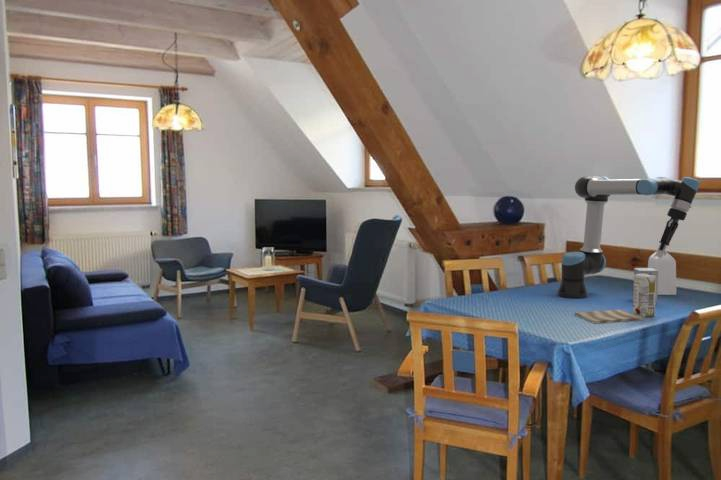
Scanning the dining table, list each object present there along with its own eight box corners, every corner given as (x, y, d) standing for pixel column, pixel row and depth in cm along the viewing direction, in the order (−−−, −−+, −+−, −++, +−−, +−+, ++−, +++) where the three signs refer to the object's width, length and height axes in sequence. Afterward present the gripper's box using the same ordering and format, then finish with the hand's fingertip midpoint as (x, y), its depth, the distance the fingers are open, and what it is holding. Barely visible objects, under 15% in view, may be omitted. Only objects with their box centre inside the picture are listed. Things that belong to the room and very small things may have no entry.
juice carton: (644, 318, 253) (645, 276, 251) (630, 313, 262) (631, 273, 260) (657, 316, 256) (659, 275, 254) (643, 312, 264) (644, 272, 262)
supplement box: (657, 303, 281) (658, 270, 279) (637, 303, 283) (638, 270, 281) (651, 299, 291) (652, 267, 289) (632, 299, 292) (633, 267, 291)
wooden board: (620, 312, 265) (621, 309, 265) (643, 320, 250) (643, 317, 250) (574, 315, 261) (575, 312, 261) (595, 323, 245) (595, 320, 245)
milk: (676, 294, 301) (678, 247, 298) (653, 294, 303) (655, 247, 300) (667, 290, 313) (669, 244, 310) (645, 290, 315) (647, 244, 312)
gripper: (685, 210, 253) (663, 258, 256) (689, 214, 263) (669, 261, 266) (667, 205, 258) (647, 252, 260) (672, 209, 268) (652, 255, 271)
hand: (658, 256), depth 263 cm, fingers closed
